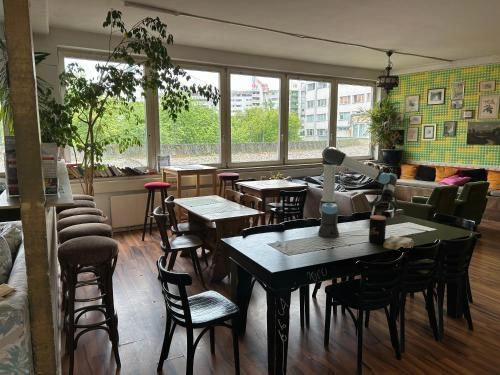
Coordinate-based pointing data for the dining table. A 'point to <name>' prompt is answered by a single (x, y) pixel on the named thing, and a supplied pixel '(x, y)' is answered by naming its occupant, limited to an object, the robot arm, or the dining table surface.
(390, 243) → the cream lumpy slab
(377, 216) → the coffee jar
